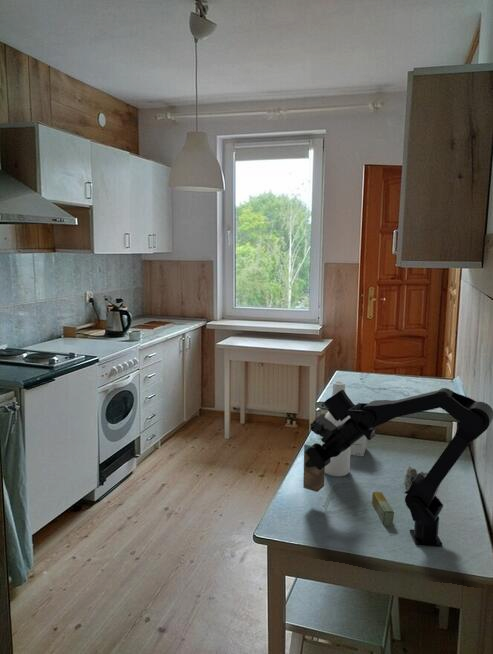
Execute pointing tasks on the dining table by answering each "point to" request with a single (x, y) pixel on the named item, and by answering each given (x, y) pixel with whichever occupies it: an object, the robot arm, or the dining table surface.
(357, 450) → the supplement box
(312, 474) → the wooden block
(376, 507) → the medication box
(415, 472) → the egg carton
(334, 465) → the alcohol
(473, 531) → the dining table surface
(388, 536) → the dining table surface
